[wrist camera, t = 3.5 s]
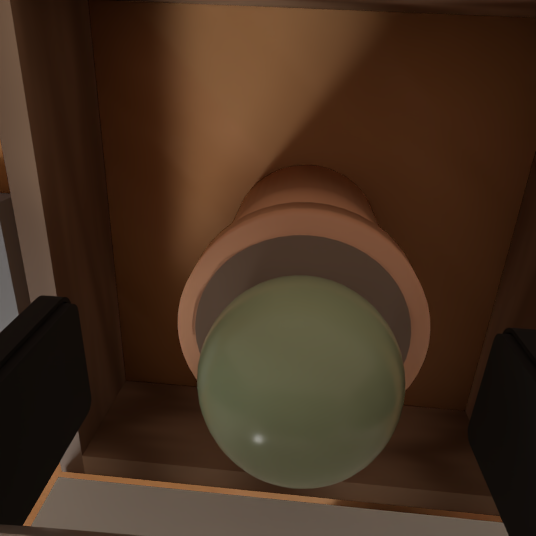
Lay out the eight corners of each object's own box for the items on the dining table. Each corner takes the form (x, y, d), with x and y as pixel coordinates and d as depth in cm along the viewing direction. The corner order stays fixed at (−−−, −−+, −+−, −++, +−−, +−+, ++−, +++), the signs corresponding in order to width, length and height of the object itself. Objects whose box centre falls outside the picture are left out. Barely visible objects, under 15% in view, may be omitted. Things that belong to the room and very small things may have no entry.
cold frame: (612, -14, 16) (737, -45, 11) (481, 428, 23) (522, 518, 19) (57, -35, 17) (-39, -70, 12) (108, 394, 24) (61, 471, 20)
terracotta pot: (397, 160, 18) (530, 311, 7) (374, 311, 21) (444, 588, 10) (226, 150, 19) (103, 279, 8) (225, 299, 22) (134, 554, 10)
